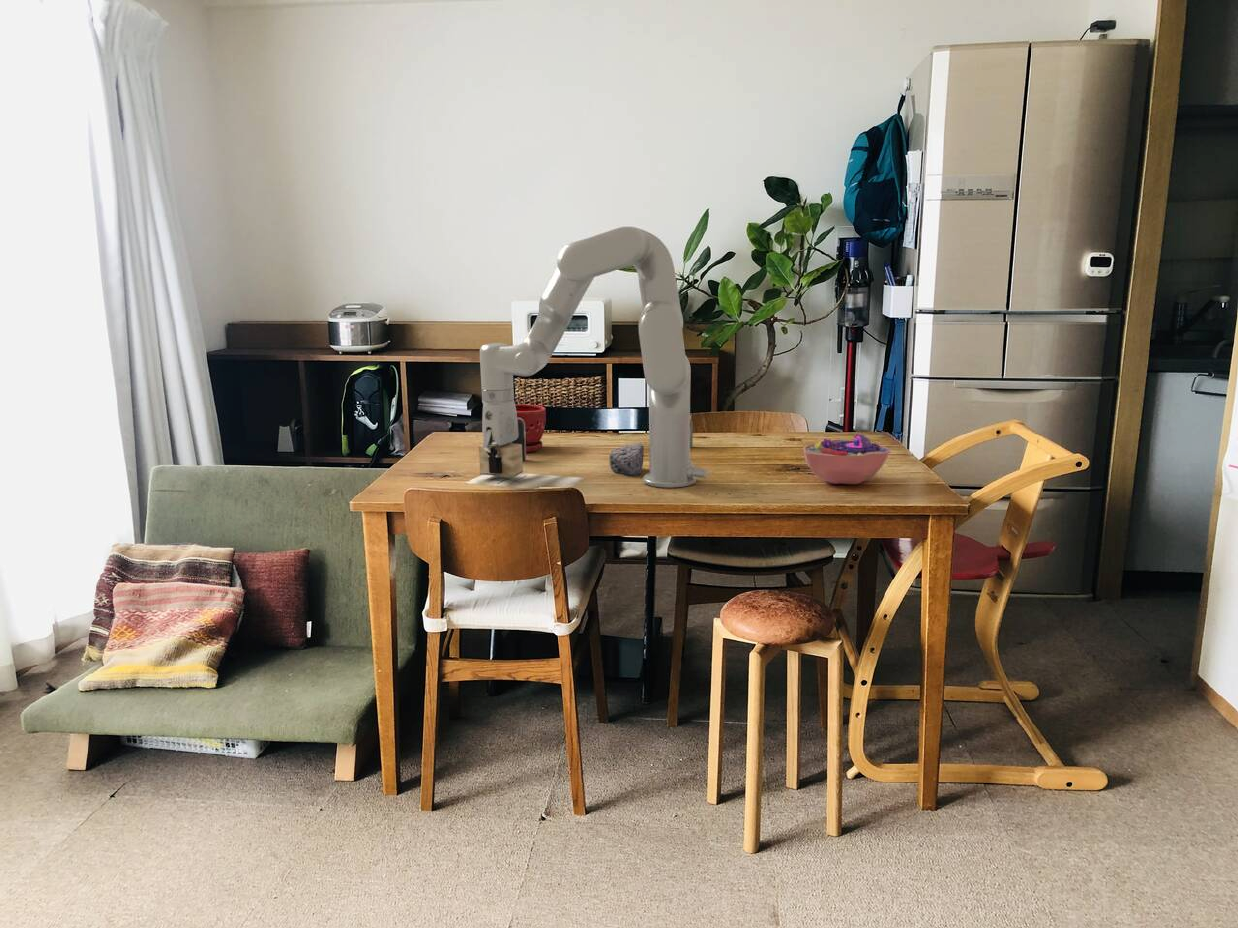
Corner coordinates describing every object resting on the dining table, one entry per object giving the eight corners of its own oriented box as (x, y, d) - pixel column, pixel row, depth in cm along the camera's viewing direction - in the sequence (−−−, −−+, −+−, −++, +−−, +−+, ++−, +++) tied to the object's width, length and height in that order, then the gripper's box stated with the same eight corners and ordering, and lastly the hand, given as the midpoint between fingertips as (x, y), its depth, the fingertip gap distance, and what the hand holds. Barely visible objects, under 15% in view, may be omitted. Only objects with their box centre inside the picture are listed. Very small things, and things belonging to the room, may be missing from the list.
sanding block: (523, 472, 229) (521, 444, 227) (513, 477, 224) (512, 448, 223) (490, 469, 232) (488, 441, 231) (480, 474, 228) (478, 446, 226)
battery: (497, 463, 246) (495, 420, 243) (500, 459, 249) (498, 417, 247) (524, 463, 245) (522, 419, 243) (526, 459, 249) (525, 417, 246)
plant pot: (524, 456, 252) (522, 412, 250) (489, 451, 260) (487, 408, 257) (556, 448, 263) (555, 405, 260) (521, 442, 270) (520, 401, 268)
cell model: (793, 475, 228) (794, 429, 225) (874, 472, 229) (876, 426, 227) (812, 493, 212) (813, 443, 209) (899, 490, 213) (901, 441, 210)
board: (586, 479, 228) (586, 478, 227) (563, 492, 216) (563, 491, 216) (491, 471, 237) (491, 470, 237) (464, 483, 225) (464, 482, 225)
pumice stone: (605, 484, 232) (639, 477, 226) (596, 454, 231) (630, 446, 225) (625, 474, 240) (658, 467, 235) (616, 445, 239) (650, 437, 234)
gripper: (494, 402, 215) (498, 479, 219) (528, 391, 230) (531, 463, 235) (465, 401, 218) (470, 477, 222) (500, 390, 233) (504, 461, 237)
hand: (501, 469), depth 228 cm, fingers closed on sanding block, 5 cm apart
